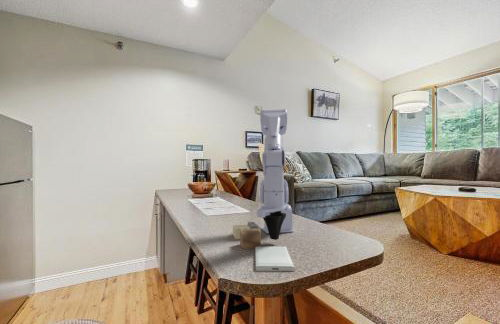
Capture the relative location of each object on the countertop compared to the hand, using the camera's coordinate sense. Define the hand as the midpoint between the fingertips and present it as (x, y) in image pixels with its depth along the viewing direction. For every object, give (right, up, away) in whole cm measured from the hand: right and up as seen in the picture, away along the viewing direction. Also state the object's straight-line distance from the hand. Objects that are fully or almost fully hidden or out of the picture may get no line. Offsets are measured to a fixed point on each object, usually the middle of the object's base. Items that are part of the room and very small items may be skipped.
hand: (274, 238), depth 66 cm
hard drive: (-2, -2, -12) cm, 12 cm away
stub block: (-7, -2, -2) cm, 7 cm away
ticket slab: (-8, -2, +8) cm, 11 cm away
